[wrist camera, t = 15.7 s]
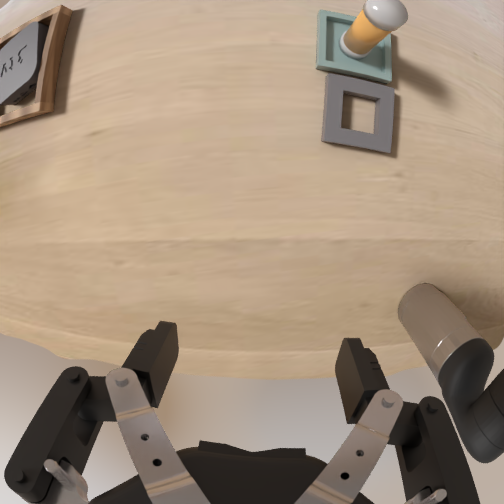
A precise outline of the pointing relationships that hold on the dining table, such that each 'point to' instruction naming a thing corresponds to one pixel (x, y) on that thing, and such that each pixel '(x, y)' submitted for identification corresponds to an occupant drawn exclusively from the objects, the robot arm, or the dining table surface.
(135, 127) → the dining table surface
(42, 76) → the square wooden tray
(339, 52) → the parts tray
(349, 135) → the frame
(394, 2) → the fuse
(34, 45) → the streaming box
